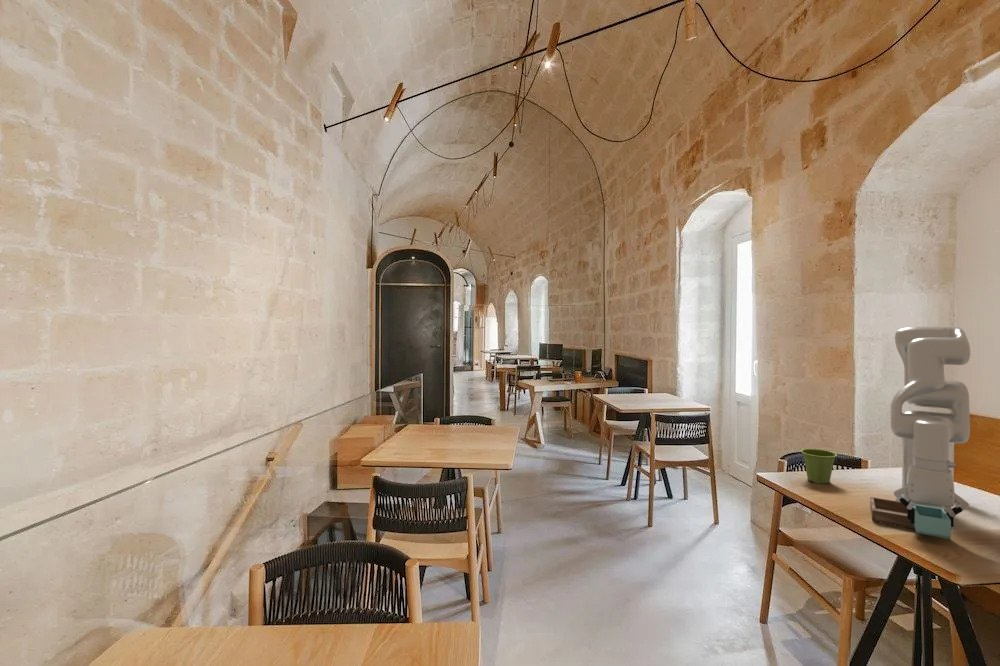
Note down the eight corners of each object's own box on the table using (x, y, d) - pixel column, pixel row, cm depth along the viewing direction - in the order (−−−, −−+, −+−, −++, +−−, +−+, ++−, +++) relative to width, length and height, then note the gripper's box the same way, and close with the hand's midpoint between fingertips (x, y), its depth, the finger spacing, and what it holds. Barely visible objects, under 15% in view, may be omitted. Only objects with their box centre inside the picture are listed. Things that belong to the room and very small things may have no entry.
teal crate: (911, 520, 143) (911, 503, 143) (943, 526, 139) (943, 508, 139) (916, 532, 135) (917, 515, 135) (950, 539, 131) (950, 520, 131)
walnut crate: (870, 507, 160) (870, 496, 160) (916, 515, 154) (916, 504, 154) (872, 521, 149) (872, 510, 148) (922, 530, 142) (922, 518, 142)
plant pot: (794, 476, 194) (794, 448, 194) (823, 476, 194) (823, 448, 194) (813, 486, 182) (813, 456, 182) (844, 486, 182) (844, 456, 182)
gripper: (969, 465, 135) (968, 527, 136) (890, 456, 145) (889, 514, 146) (975, 472, 129) (974, 538, 130) (892, 462, 139) (891, 523, 140)
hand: (929, 524), depth 138 cm, fingers closed on teal crate, 7 cm apart
